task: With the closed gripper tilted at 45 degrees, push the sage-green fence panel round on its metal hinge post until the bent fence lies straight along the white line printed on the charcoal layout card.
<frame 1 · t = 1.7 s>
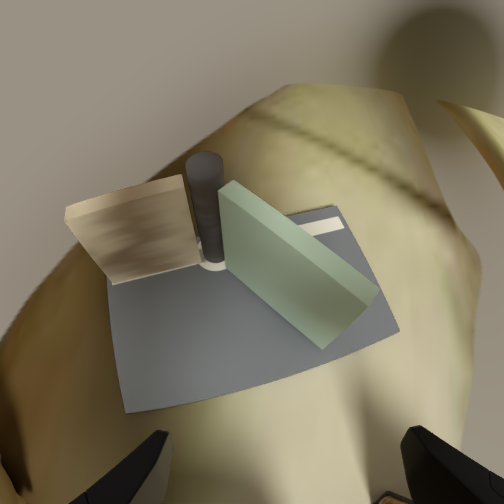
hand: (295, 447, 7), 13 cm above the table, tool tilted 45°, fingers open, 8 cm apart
cream rounded piece: (1, 486, 12), on the table
fixed fence panel: (154, 229, 20), on the layout card
layout card: (216, 255, 25), on the table
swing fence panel: (284, 276, 19), point 5 cm above the table, hinge at -60.0°
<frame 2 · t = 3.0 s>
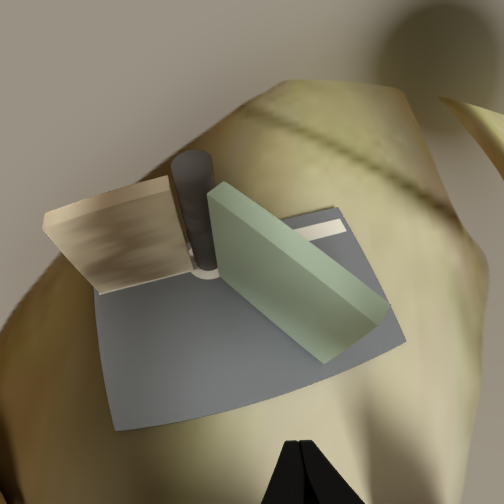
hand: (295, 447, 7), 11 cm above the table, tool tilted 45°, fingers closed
fixed fence panel: (140, 236, 18), on the layout card
layout card: (209, 262, 24), on the table
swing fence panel: (282, 287, 17), point 5 cm above the table, hinge at -60.0°
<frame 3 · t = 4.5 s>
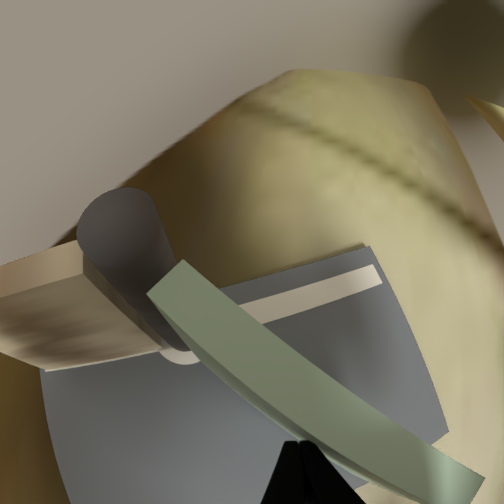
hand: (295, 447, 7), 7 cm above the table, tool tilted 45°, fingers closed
fixed fence panel: (71, 319, 10), on the layout card
layout card: (186, 334, 16), on the table
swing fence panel: (301, 416, 9), point 5 cm above the table, hinge at -57.7°, touching gripper
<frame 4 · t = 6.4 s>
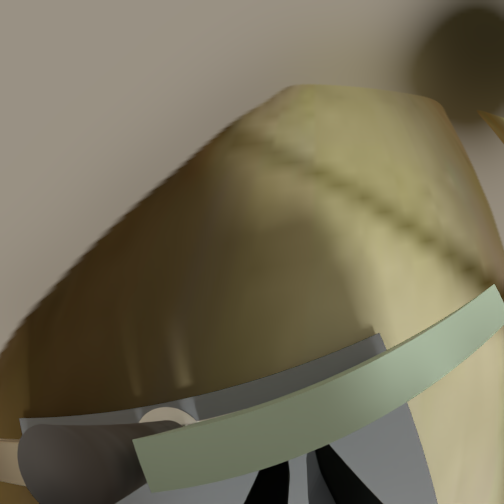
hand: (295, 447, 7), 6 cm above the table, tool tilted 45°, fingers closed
fixed fence panel: (46, 455, 7), on the layout card, point 6 cm above the table
layout card: (171, 439, 12), on the table
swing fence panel: (323, 398, 9), point 5 cm above the table, hinge at 1.4°, touching gripper
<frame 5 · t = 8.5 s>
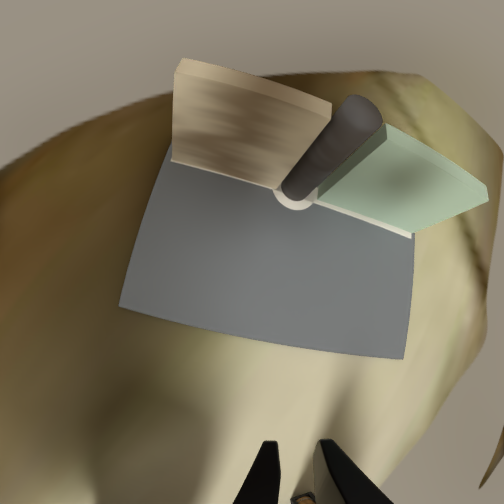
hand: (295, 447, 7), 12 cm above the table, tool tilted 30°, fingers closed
fixed fence panel: (259, 134, 17), on the layout card, point 6 cm above the table
layout card: (292, 190, 23), on the table
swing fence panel: (404, 191, 19), point 5 cm above the table, hinge at 1.4°
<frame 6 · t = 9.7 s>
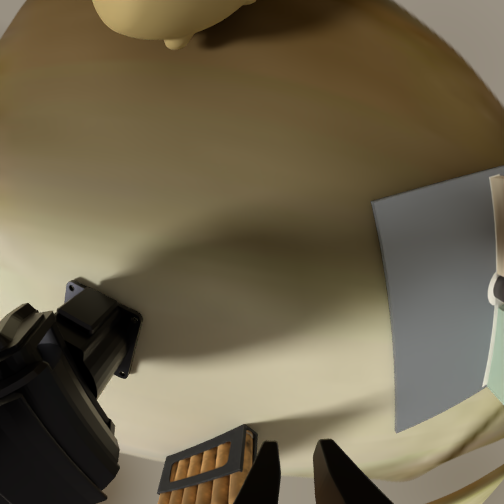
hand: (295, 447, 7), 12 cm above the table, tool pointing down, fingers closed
cream rounded piece: (182, 1, 14), on the table
layout card: (497, 284, 19), on the table
ammunition clip: (208, 446, 23), on the table
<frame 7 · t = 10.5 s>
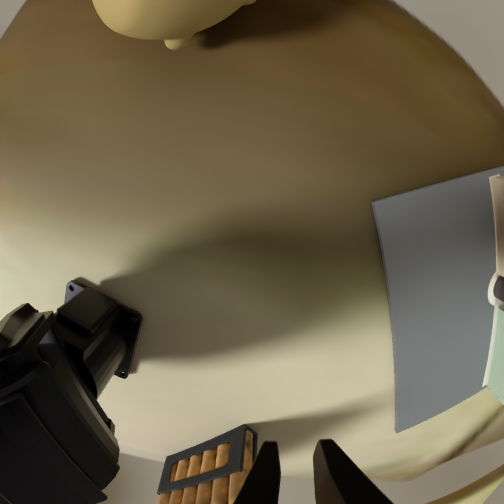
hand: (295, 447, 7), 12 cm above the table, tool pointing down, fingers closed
cream rounded piece: (182, 1, 14), on the table
layout card: (497, 284, 19), on the table
ammunition clip: (208, 446, 23), on the table
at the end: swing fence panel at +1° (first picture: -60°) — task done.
